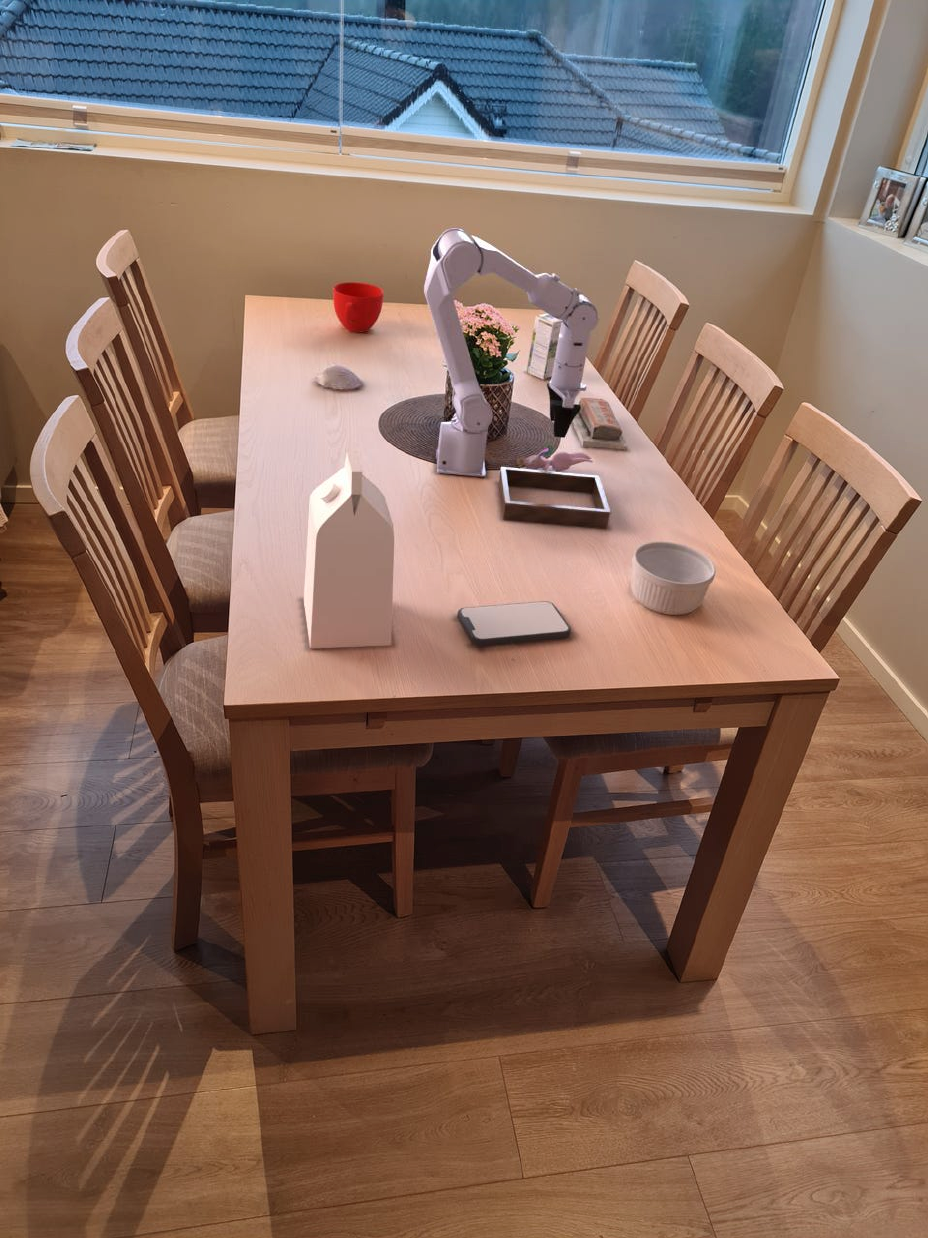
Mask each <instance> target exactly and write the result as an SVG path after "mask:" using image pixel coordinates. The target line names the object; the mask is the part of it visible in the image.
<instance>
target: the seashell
mask: <svg viewBox="0 0 928 1238" xmlns="http://www.w3.org/2000/svg"><path fill="white" fill-rule="evenodd" d="M314 381H315V382H316V383H318V384H319V385H321V386H323V387H325V388H332V389H333V390H340V391H341V390H345V391H348V390H354V389H357V388H360V387H361V386H362V383H361V382H362V381H361V379H360V378H359V377H358V375H357V374H356V373H355V372H353V371H352V370H351V369H349V368H347V367H344V366H342V365H340V364H332V365H328V366H326V367H324V368H323V369H322V370H320V371H319V373H317V374H316V376H315V378H314Z"/></svg>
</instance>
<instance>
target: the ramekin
mask: <svg viewBox="0 0 928 1238" xmlns="http://www.w3.org/2000/svg"><path fill="white" fill-rule="evenodd" d="M631 562H632V571H631V580H630V588H631V592H632V594H633V596H634V598H635V600H637V602H639V603H640V604H641V605H642V606H644V607H645V608H647V609H649V610H650V611H653V612H656V613H659V614H663V615H669V616H681V615H687V614H690V613H692V612H694V611H695V610H697V608H699V607H700V606H701V604H702V603H703V601H704V600H705V596H706V594H707V593H708V590H709V587H710V585H711V584H712V583H713V582H714V579H715V577H716V566H715V563H714V562H713V561H712V560H711V559H710V557H708V556H707V555H706V554H705V553H702V552H701V551H699V550H697V549H695V548H693V547H691V546H688V545H686V544H682V543H678V542H672V541H659V540H658V541H649V542H646V543H643V544H641V545H639V546H638V547H637V548H636V549H635V550H634V552H633V555H632V561H631Z"/></svg>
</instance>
